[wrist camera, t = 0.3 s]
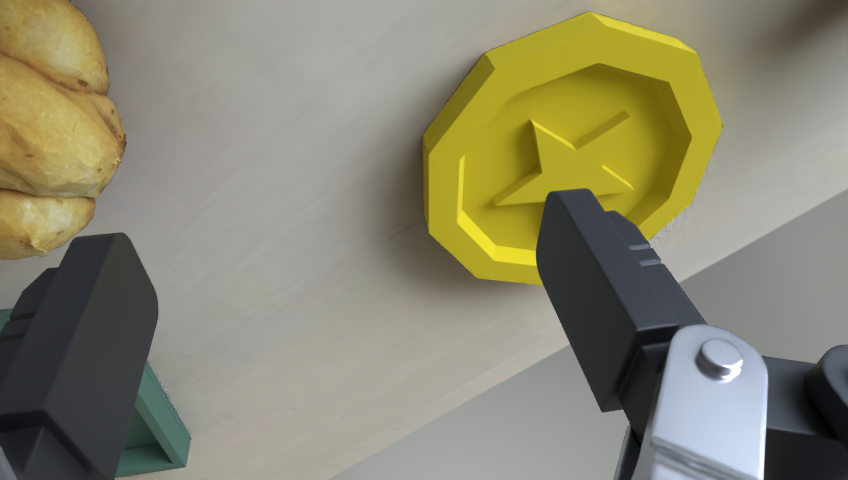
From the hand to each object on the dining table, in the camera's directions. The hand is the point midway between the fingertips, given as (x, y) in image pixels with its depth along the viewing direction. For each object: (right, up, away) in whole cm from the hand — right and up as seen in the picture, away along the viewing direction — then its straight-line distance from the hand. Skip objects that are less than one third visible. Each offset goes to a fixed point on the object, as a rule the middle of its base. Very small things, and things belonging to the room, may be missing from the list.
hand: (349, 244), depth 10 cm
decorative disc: (+10, +5, +22) cm, 24 cm away
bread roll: (-17, +7, +14) cm, 23 cm away
